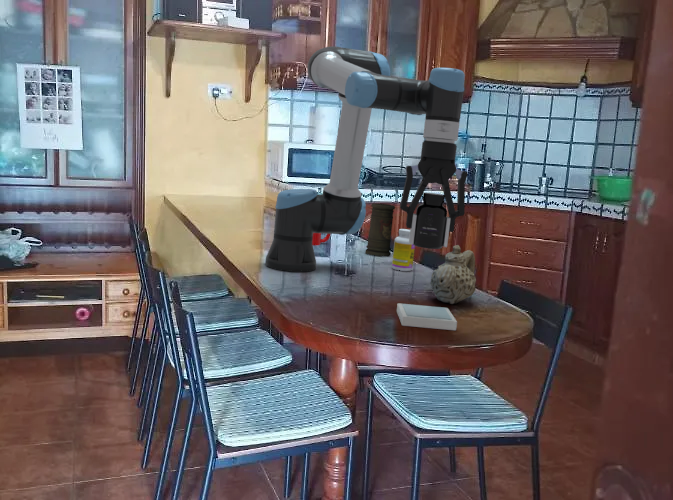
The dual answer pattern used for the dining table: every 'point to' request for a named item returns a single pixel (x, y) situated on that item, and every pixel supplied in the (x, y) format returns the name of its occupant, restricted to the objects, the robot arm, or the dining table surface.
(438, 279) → the teapot
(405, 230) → the supplement bottle
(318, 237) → the mug
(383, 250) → the container
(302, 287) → the dining table surface
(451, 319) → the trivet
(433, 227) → the supplement bottle
